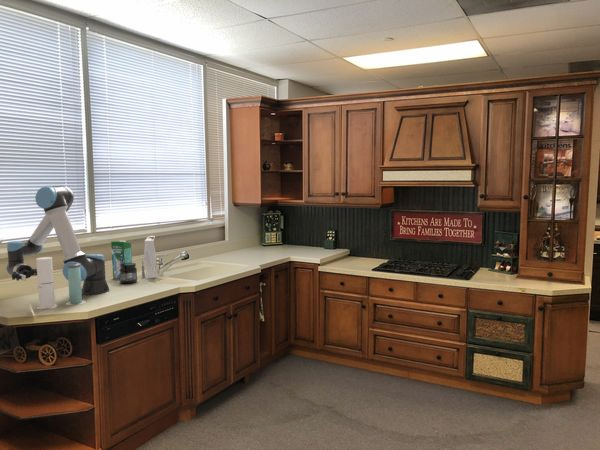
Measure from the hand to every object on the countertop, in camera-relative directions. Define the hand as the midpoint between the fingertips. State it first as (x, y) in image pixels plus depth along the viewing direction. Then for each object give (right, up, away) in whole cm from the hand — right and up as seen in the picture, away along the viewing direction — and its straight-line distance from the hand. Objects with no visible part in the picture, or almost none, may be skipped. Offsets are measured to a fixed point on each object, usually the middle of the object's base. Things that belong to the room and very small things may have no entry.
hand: (39, 276), depth 254 cm
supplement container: (+26, -10, +59) cm, 65 cm away
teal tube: (+18, -14, +4) cm, 23 cm away
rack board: (+11, -16, 0) cm, 20 cm away
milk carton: (+16, -9, +75) cm, 78 cm away
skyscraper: (+35, -9, +74) cm, 82 cm away
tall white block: (+6, -15, -4) cm, 17 cm away
